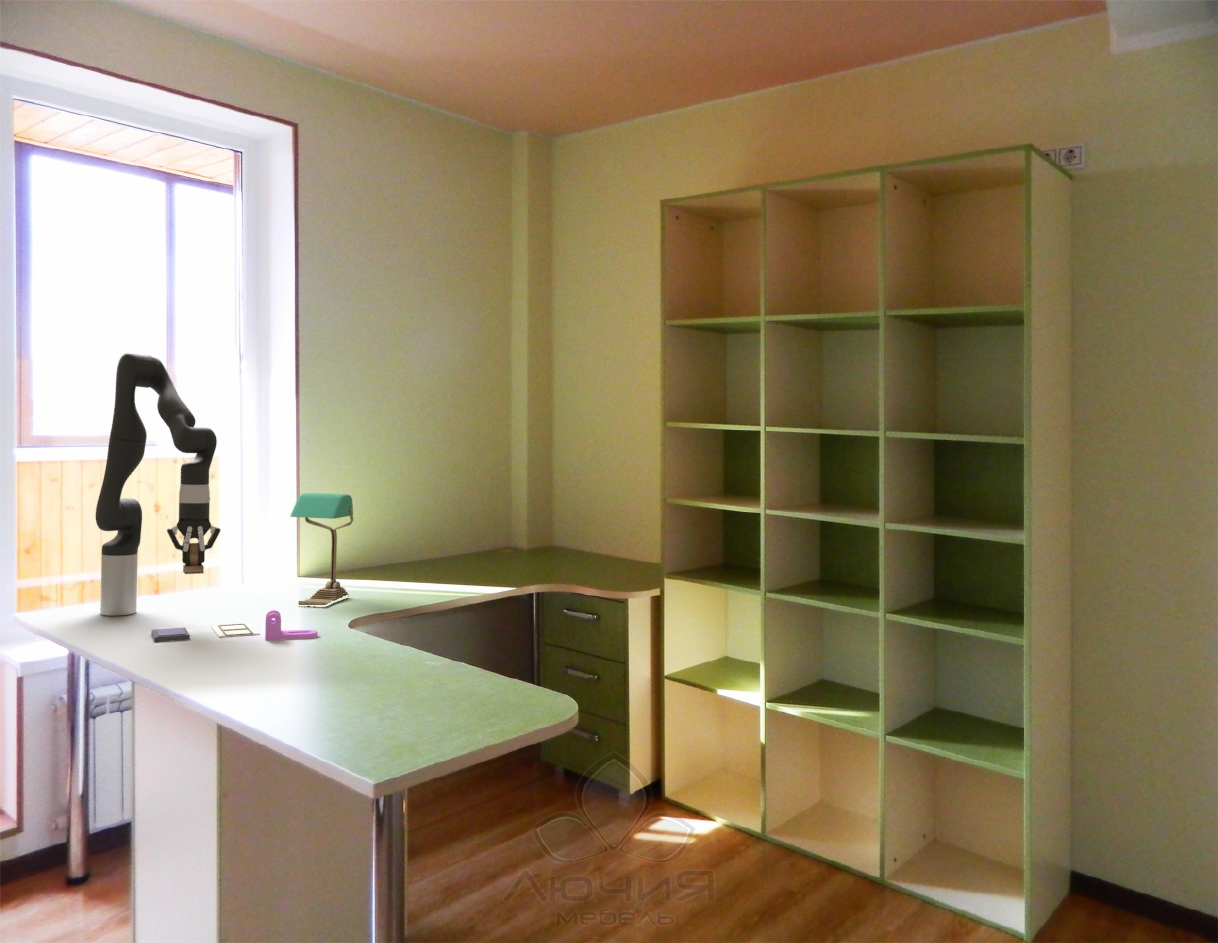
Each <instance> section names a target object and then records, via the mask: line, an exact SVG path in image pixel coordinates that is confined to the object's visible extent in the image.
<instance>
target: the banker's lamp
mask: <svg viewBox="0 0 1218 943" xmlns="http://www.w3.org/2000/svg"><path fill="white" fill-rule="evenodd" d="M353 505H354V504H353V498H352V496H351V495H350V494H347V493H346V494H345V493H327V492H326V493H325V492H324V493H322V492H304V493H302V494H300V495H299V496H298V497H297V499H296V502H295V505H294V506H293V509H292V511H291V513H290V515H289V516H290V517H291V518H304V520H305V522H306V524H310V525H313V526H316V527H318V528H319V527H320V528H323V529H326V530H329V531H330V533H331V534H330V535H331V549H330V550H331V554H330V580H329V581H327V582H326V584H325V587H323V588H320V589H318V590H317V591H316V592H315V593H314V594H313V595H311V597H310V598H308V599H305V600H298V605H326V604H328V603H330V602H331V601H335V600H337V599H339V598H342V597H343V596H346V595H348V596H349V593H348V592H347V591H346V589H345V588H344V587H343V586H341V583H340V581H337V555H338V554H337V551H338V550H337V548H338V545H337V544H338V543H337V542H338V534H337V530H339V529H342V528H345V527H349V526H350V525H352V524H353V522H354V508H353V507H354V506H353ZM346 517H349V519H350V520H349V522H346V523H344V524H342V525H339V526H336V528H334V529H333V528H332V527H331V526H328V525H326V524H323V523H320V522H318V521H314V520H312V518H313V519H332V520H333V519H340V518H346Z"/></svg>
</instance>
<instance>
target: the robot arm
mask: <svg viewBox="0 0 1218 943" xmlns="http://www.w3.org/2000/svg"><path fill="white" fill-rule="evenodd" d="M137 387H139V388H147V389H148V388H151V389H152V390H153V391H154V392H155V393H156V394H157V395H158V397H157V398H158V399H157V404H156V405H157V407H156V408H157V412H158V414H159V416H160V418H161V419H162V421H163V422H164V424H166V426H167V427H168V429H169V431H170V434H171V438H172V442H173V446H174V447H175V449H177V450H178V451H179V452H181V453H183V454H196V455H195V457H194V458H193V460H192V461H187V462H184V463H183V464H181V468H180V485H179V494H178V495H179V496H178V521H177V523H176V525H175V526H173V527H171V528H167V529H166V532H167V535H168V536H169V539H170V541H171V542H172V544H173V546H174V548H175V549H176V550H179V551H181V553H182V554H181V555H182V560H181V561H182V564H184V565H189V552H188V547H189V543H191V540H192V539H197V543H199V565H203V563H205V559H206V558H205V552H206V551H207V550H208V549H212V548H213V546H214V544H215V542H216V541H217V539H218V536H219V534H220V532H221V528H219V527H216V526H213V525H212V523H211V521H210V507H211V506H210V504H211V503H210V501H211V497H210V495H211V493H210V492H211V491H210V468H211V466H212V462H213V458H214V455H215V452H216V448H217V444H218V441H217V436H216V433H215V431H214V430H213V429H211V428H209V427H199V426H197V427H195V425H196V418H195V416H194V414H193V413H192V412H191V411H190V409H189V408H188V407H187V405H186V404H185V402H183V400H182V398H181V397H180V395H179V393H178V392H177V390H176V387H175V385H174V383H173V381H172V379H171V376H170V374H169V373H168V371H167V368H166V367H165V365H164V363H163V362H162V361H161V360H160V358H158V357H156V356H152V355H150V354H148V355H147V354H139V353H131V352H126V353H124V354H122V355H121V357H120V358H119V360H118V362H117V367H116V374H115V394H114V396H115V398H114V408H113V409H114V410H113V416H112V422H111V429H110V432H109V433H110V435H109V439H108V440H109V441H108V446H107V447H108V449H107V457H106V464H105V469H104V474H103V478H102V479H103V480H102V484H101V487H100V492H99V495H98V500H97V504H96V508H95V522H96V525H97V527H98V529H99V530H101V531H104V532H117V533H116V535H115V536H114V537H113V538H112V539H110V540H108V541H107V542H105V543H103V544H102V546H101V558H100V559H101V566H100V567H101V569H100V570H101V571H100V572H101V573H100V605H99V606H100V609H99V610H100V612H99V613H100V615H102V616H113V617H115V616H128V615H133V614H136V613H137V606H138V603H137V600H138V599H137V598H138V559H139V558H138V556H139V555H138V551H139V546H140V544H141V538H142V526H143V524H142V523H143V509H142V506H141V504H140V502H139V501H138V500H136V499H135V498H129V497H128V498H127V497H125V498H124V497H123V498H121V496H122V492H123V490H124V489H123V488H124V487H125V484H126V483H127V481H128V479H129V478H130V476H131V475H132V474H133V473H134V471H135V470H136V469H137V467H138V466H139V465H140V464H141V462H142V460H143V459H144V456H145V449H146V444H147V438H148V437H147V436H148V435H147V434H148V433H147V430H146V427H145V425H144V422H143V420H142V419H141V416H140V414H139V412H138V410H137V407H136V399H135V398H136V388H137ZM209 530H210V531H209ZM177 531H179V532H180V533H181V535H182V536H183V538H182V539H183V540H182V544H180V542H179V540H178V539H177V535H178V532H177ZM208 532H209V533H210V537H209V539H208V541H207V543H206V544H205V537H204V536H205V535H206V534H207V533H208Z"/></svg>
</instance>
